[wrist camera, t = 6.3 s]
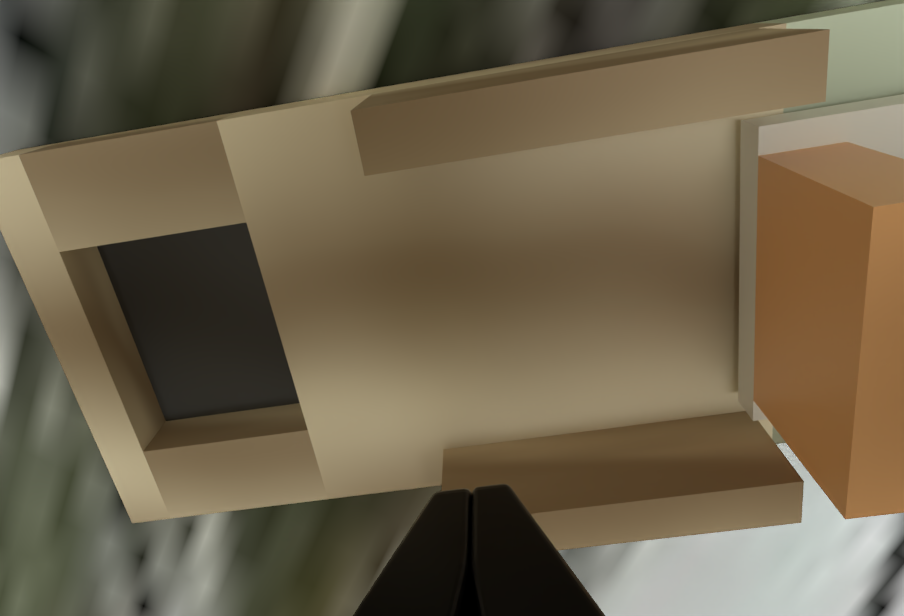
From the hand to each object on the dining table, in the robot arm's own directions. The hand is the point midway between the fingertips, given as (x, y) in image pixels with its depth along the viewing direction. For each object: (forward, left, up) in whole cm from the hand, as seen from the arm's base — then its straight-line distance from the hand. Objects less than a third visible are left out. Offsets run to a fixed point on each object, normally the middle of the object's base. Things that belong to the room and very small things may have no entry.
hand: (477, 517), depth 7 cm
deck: (0, -3, -8) cm, 9 cm away
